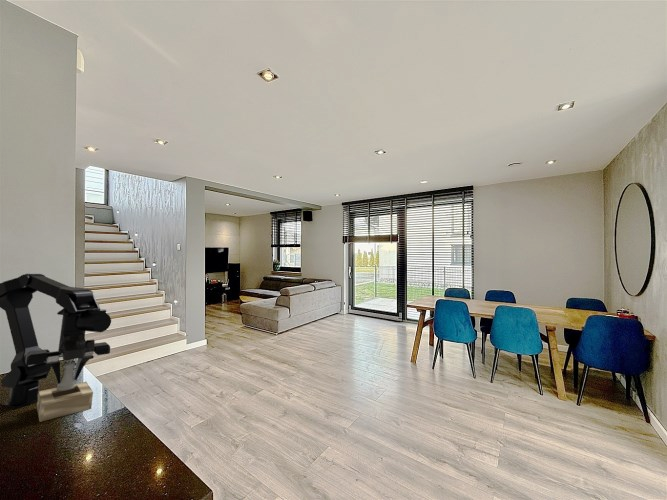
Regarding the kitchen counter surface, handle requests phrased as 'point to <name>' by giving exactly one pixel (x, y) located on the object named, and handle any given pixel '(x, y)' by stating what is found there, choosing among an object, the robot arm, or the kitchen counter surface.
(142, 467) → the kitchen counter surface
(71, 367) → the rook chess piece
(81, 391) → the box
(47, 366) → the robot arm
